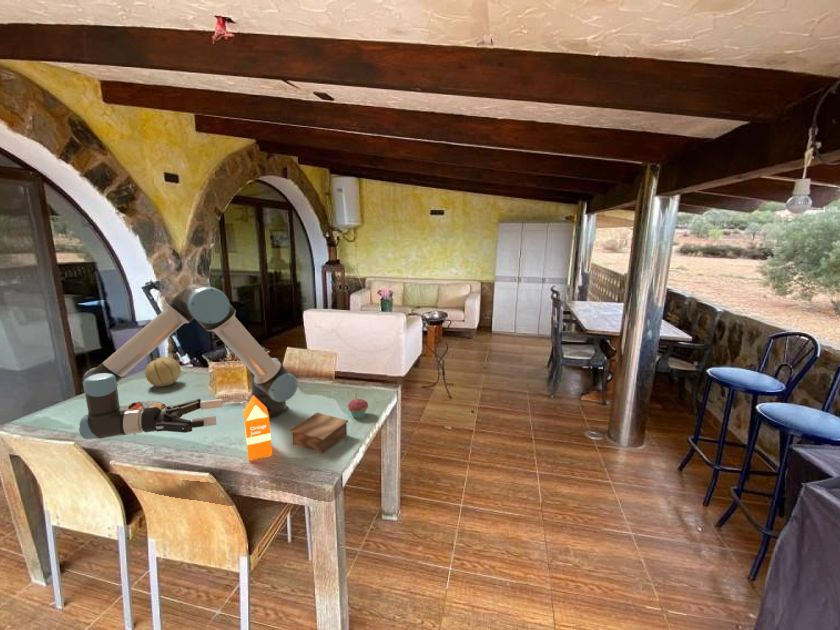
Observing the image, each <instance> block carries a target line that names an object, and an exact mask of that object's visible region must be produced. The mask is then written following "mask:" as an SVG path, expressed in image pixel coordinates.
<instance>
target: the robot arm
mask: <svg viewBox="0 0 840 630" xmlns="http://www.w3.org/2000/svg"><path fill="white" fill-rule="evenodd" d="M236 312H237V311H236V309H235V308H234V307H233V305H232V304H231V303H230V300H229V298H228V296H227V295H226V294H225V293H224V292H223V291H222V290H220V289H218V288H217V287H214V286H210V285H208V284H204V283H193V284H190V285H188V286H186V287H185V288H183V289H182V290H181V291H180V292H179V293H178V292H177V294H176V295H175V296H174V297H173V298H171V299H170V300H169V301H168V302H167V303H166V305H165V309H164V310H163V311H161V312H160V313H159V314H158V315H157V316H155V318H153V319H152V320H151V321H149V322H148V323H147V324H146V325H145V326H144V327H143V328H141V329H140V330H139V331H138V332H137V333H136V334H134V335H133V336H132V337H131V338H130V339H128V340H127V341H126V342H125V343H124V344H123V345H121V346H120V347H119V348H118V349H117V350H115V352H113V353H112V354H111V355H110V356H108V357H107V359H105V360H104V361H103V362H102V363H101V364H99V365H98V366H97V367H93V368H90V369H89V370H87V371H86V372H85V374H84V375H83V378H82V386H83V392H84V396H85V402H86V406H87V413H88V414H85V415H83V416H82V417H81V419H80V422H79V423H78V424H79V429H78V431H79V435H80V437H82V439H84V440H92V439H93V440H94V439H95V440H97V439H100V440H101V439H105V438H112V437H119V436H126V435H133V436H135V435H137V434H141V433H152V432H158V433H159V432H171V433H190V432H193V429H196V428H197V429H198V428H204V427H209V426H210V427H211V426H216V425H217V416H216V415H214V416H207V417H198V418H196V417H195V418H192V419H191V420H190V419H186V418H182V417H183V416H185V415H186V414H189V413H192V412H194V411H197V410H211V409H217V408H223V402H222V401H223V400H222V398H220V399H212V400H202V399H201V398H197V399H192V400H188V401H186V402H182V403H178V404H172V405H171V404H170V405H166V407H167V409H166V410H165V411H161V410H160V409H159V408H158V407H151V408H145V409H142V408H141V409H132V410H124V411H120V407H121V405H120V400H119V398H120V397H119V392H118V391H119V389H118V382H120V380H122V379H123V378H124V377H125V376H126V375H127V374H129V372H131V371H132V370H133V369H134V368H135V367H136V366H138V364H139V363H141V362H142V361H143V360H144V359H146V358H147V357H148V356H149V355H150V354H151V353H152V352H153V351H154V350H156V348H158V347H159V346H160V345H161V344H163V342H164V341H166V340H167V339H168V338H169V337H170V336H171V335H173V333H175V332H176V331H177V330H178V329H179V328H181V326H183V325H184V324H189V323H191V322H192V321H193V320H194V319H195V320H196V322H198V324H200V325H201V327H202V328H203V329H205V331H206V332H212V333H214V334H215V335H216V336H217V337H218V338H219V339H220V340H221V341H222V342H223V344H225V346H227V348H229V350H230V351H231V353H233V354H234V355H235V356H236V357H237V358H238V359H239V360H240V361H241V363H242V364H243V365H244V366H245V367H246V368H247V369H248V370H249V376H250V387H251V398H252V397H253V395H254V396H255V397H256V398H257V399H258V400H259V401H260V402H261V403H262V404H263V405H264V406H265V407H266V408H267V411H268V415H269V419H270V418H274V417H278V416H280V415H282V414H283V413H284V412H286V410H287V402H286V401H288V400H290V399H291V398H293V396H295V394H296V392H297V390H298V386H299V383H298V380H297V377H296V376H295V375H294V374H292V373H290V372H289V370H287V369H286V367H285V366H284V365H283V364H282V363H281V362H280V361H279V359H278V358H276V357H271V356H270V355H269V354H268V353H267V352H266V351H265V349H264V348H263V347H262V346H261V345H260V344H259V342H258V341H257V340H256V339H255V337H253V336H252V335H251V333H250V332H249V331H248V330H247V329H246V327H245V326H244V325H243V324H242V322H241V321H239V320H238V318H237V317H236ZM201 400H202V401H201Z"/></svg>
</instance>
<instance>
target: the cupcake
mask: <svg viewBox="0 0 840 630" xmlns="http://www.w3.org/2000/svg"><path fill="white" fill-rule="evenodd" d="M357 393H358V392H357V391H354V396H355V399H352V400H351V401H350V402H348V404H347V409H348V411H350V412H351V415H352V417H353V418H354V419H361V418H363V417H364V416H365V413H366V411H367V410H368V408H369V404H368V402H367V400H364V399H362V398H358V395H357Z"/></svg>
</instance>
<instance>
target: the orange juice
mask: <svg viewBox="0 0 840 630" xmlns="http://www.w3.org/2000/svg"><path fill="white" fill-rule="evenodd" d="M242 414H243V419H244V421H243V423H244V431H245V440H246V449H247V450H246V452H247V457H248V461H249V460H251V459H256V460H258V459H257V458H260V459H262V458H261V457H264V458H268V457H271V456H270V455H272V456H273V450H272V435H271V424H270V418H269V415H268V411H267V408H266V407H265V406H264V405H263V404H262V403H261V402H260V401H259V400H258V399H257V398H256V397H255V396H254V395H253V397H252V396H251V398H250V400H249V402H248V403H247V405H246V407H245V408H244V409H243V411H242ZM267 456H268V457H267ZM251 461H252V460H251Z"/></svg>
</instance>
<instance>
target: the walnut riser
mask: <svg viewBox="0 0 840 630" xmlns="http://www.w3.org/2000/svg"><path fill="white" fill-rule="evenodd" d="M348 423H349V420H348V419H345V418H340V417H336V416H332V415H328V414H324V413H320V412H316V413H314V414H312V415H310V416H309V417H307V418H306V419H305V420H303V421H301V422H299V423H297V424H296V425H295V426H293V427H291V428H290V429H289V431H290V432H291V437H292V440H291V441H292V445H294V446H298V447H301V448H304V449H307V450H310V451H313V452H316V453H320V454H325V453H326V452H328V451H329V450H330V449H331V448H332V447H334V446H335V445H336V444H337V443H338V442H339V443H340V441H341V440H343V439H344V438H345V437H346V436H348V433H347V432H348V431H347V430H348V428H347V426H348V425H347V424H348Z"/></svg>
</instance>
